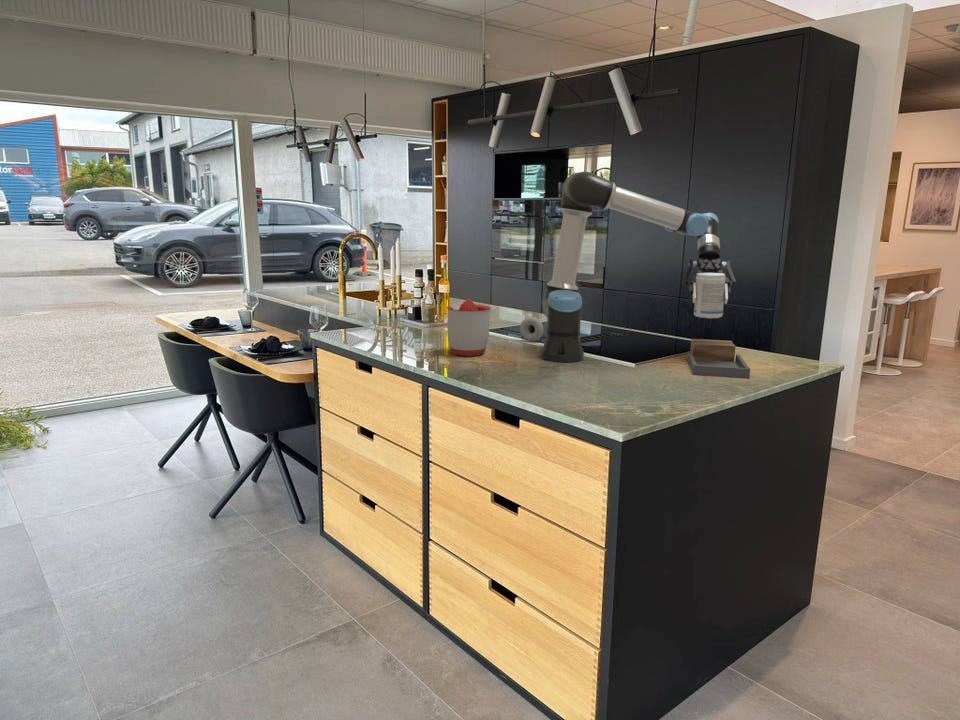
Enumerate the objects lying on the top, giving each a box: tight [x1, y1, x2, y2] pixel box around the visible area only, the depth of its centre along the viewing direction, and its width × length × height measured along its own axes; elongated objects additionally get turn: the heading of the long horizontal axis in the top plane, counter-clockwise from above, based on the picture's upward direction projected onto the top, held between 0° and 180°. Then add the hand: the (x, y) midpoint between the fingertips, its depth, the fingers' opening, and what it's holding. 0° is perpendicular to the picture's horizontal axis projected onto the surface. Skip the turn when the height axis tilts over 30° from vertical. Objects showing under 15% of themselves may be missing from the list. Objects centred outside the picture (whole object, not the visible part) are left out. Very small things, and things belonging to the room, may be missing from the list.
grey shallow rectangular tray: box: [686, 351, 751, 379], centre depth 229 cm, size 22×17×3 cm
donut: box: [519, 316, 544, 343], centre depth 268 cm, size 10×4×10 cm, turn 60°
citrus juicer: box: [446, 298, 491, 357], centre depth 244 cm, size 16×17×20 cm
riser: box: [689, 338, 736, 362], centre depth 243 cm, size 10×14×6 cm
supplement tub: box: [693, 272, 726, 319], centre depth 232 cm, size 10×10×15 cm
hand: (710, 300), depth 229 cm, fingers closed on supplement tub, 9 cm apart
